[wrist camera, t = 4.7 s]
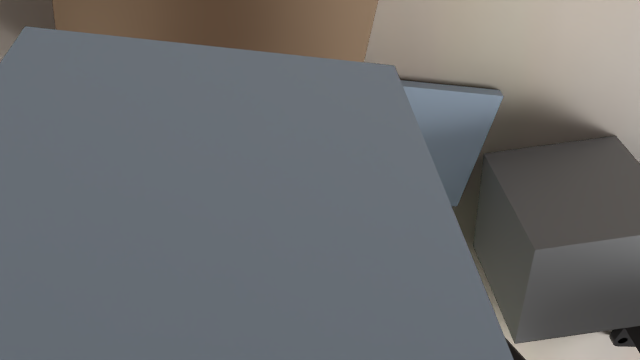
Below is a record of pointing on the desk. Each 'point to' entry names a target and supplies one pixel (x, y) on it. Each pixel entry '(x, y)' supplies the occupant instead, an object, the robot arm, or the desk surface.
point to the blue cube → (223, 210)
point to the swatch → (453, 127)
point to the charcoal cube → (561, 237)
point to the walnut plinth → (231, 23)
